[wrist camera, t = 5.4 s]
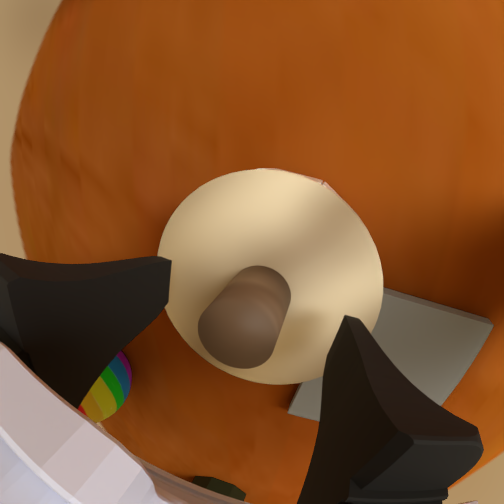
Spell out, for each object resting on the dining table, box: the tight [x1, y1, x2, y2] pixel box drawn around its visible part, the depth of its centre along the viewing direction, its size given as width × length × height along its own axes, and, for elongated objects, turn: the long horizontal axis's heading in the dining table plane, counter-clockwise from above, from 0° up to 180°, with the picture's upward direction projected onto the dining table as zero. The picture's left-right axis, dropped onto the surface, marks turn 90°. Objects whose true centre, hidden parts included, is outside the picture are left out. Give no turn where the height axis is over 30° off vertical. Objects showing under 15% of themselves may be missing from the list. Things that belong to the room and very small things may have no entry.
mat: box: [288, 287, 494, 421], centre depth 17 cm, size 12×12×1 cm
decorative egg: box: [78, 351, 132, 423], centre depth 21 cm, size 8×8×10 cm
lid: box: [158, 169, 383, 385], centre depth 11 cm, size 11×11×4 cm
